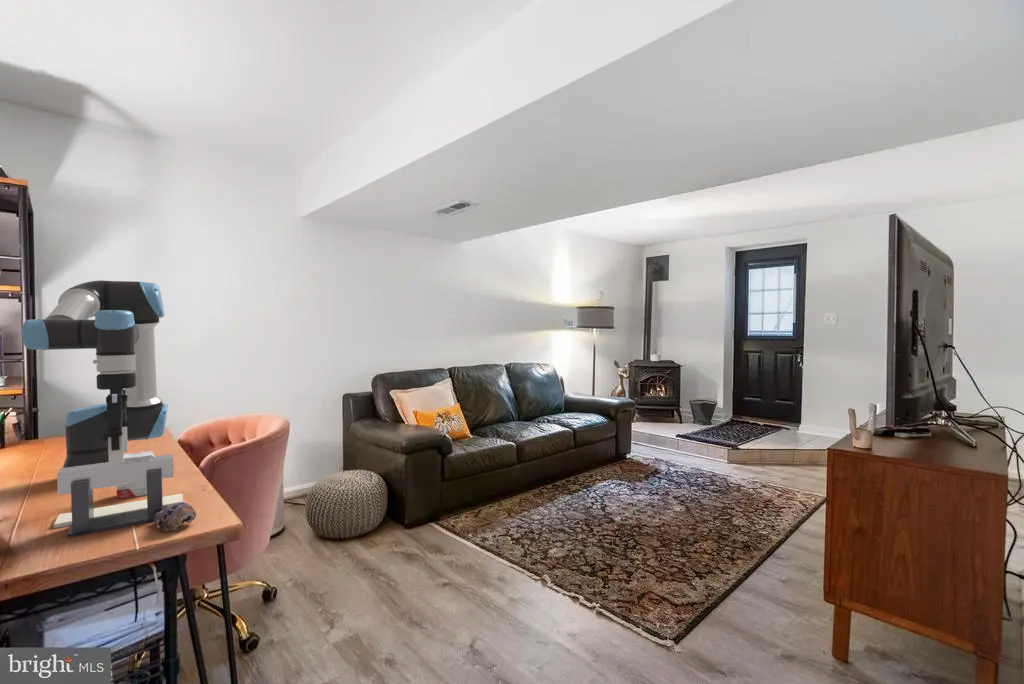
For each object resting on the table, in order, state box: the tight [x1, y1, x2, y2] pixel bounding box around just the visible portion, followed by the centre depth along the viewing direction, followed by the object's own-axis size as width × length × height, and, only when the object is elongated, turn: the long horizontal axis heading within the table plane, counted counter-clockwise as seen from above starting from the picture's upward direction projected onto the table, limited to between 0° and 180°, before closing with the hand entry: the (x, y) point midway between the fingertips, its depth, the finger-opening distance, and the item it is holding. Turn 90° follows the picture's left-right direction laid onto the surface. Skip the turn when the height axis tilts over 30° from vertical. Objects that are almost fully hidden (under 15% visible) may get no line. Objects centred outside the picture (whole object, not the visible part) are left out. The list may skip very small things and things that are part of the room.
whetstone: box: [56, 453, 175, 495], centre depth 120 cm, size 5×22×5 cm, turn 126°
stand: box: [66, 470, 168, 538], centre depth 120 cm, size 8×19×12 cm, turn 126°
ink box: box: [116, 450, 155, 500], centre depth 141 cm, size 8×5×12 cm, turn 123°
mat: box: [53, 493, 184, 529], centre depth 128 cm, size 8×26×1 cm, turn 126°
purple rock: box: [153, 502, 198, 532], centre depth 118 cm, size 12×8×6 cm, turn 56°
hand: (118, 457), depth 120 cm, fingers open, 13 cm apart
